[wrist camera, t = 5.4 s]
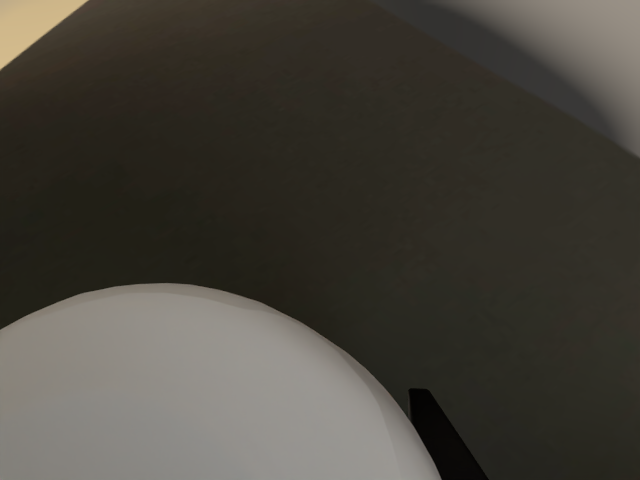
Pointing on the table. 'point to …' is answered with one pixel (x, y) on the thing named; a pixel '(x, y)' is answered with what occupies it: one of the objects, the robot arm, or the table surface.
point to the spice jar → (191, 394)
